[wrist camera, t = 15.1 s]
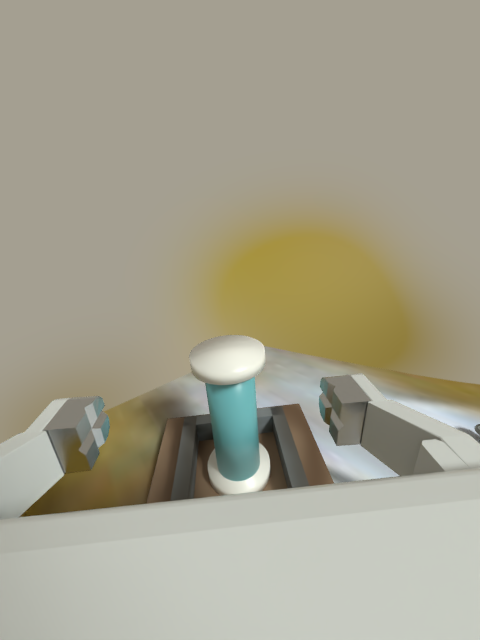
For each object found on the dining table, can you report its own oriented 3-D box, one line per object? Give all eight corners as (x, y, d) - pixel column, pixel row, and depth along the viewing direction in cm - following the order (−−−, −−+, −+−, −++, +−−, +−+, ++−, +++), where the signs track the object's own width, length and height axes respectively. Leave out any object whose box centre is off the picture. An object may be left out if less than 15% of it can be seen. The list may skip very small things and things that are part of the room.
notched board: (127, 608, 19) (114, 576, 18) (169, 427, 36) (164, 403, 35) (366, 573, 20) (371, 540, 19) (298, 412, 37) (299, 388, 35)
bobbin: (207, 504, 24) (185, 375, 19) (209, 448, 30) (192, 338, 25) (276, 495, 25) (271, 366, 20) (264, 442, 31) (258, 332, 26)
